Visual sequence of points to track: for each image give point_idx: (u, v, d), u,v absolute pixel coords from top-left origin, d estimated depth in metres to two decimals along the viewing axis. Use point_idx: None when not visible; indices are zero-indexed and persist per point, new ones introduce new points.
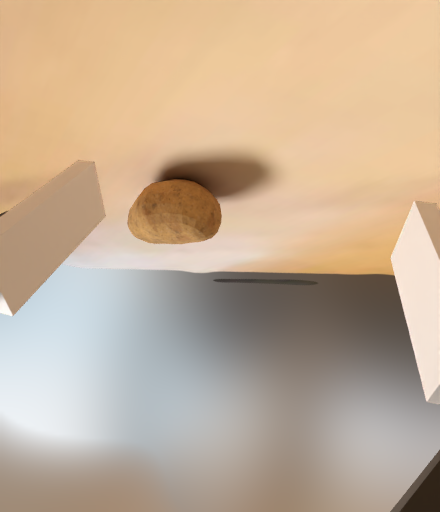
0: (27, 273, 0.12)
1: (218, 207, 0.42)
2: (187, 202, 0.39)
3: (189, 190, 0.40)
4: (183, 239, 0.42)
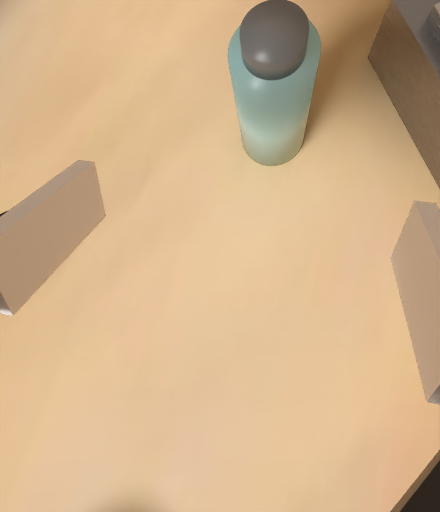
0: (27, 273, 0.12)
1: None
2: None
3: None
4: None
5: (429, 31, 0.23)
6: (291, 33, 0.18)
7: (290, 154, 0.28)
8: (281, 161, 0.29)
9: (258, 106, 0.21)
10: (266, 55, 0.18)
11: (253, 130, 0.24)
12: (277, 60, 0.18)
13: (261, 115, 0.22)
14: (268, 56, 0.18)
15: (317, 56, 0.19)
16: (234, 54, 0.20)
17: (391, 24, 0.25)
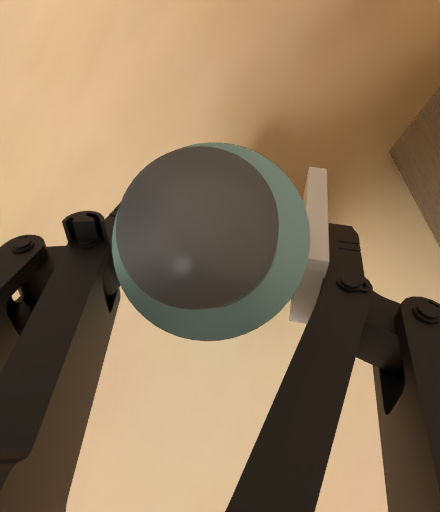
0: None
1: None
2: None
3: None
4: None
5: None
6: (235, 237, 0.07)
7: None
8: None
9: None
10: (175, 289, 0.07)
11: None
12: (201, 304, 0.07)
13: None
14: (179, 292, 0.07)
15: (302, 259, 0.09)
16: None
17: (437, 124, 0.14)
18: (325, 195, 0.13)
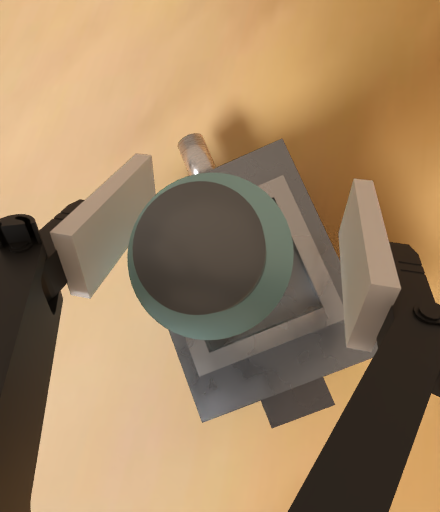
0: (101, 259, 0.13)
1: None
2: None
3: None
4: None
5: None
6: (230, 256, 0.09)
7: None
8: None
9: None
10: (181, 298, 0.09)
11: None
12: (202, 310, 0.09)
13: None
14: (185, 301, 0.09)
15: (286, 272, 0.10)
16: None
17: None
18: (378, 211, 0.12)
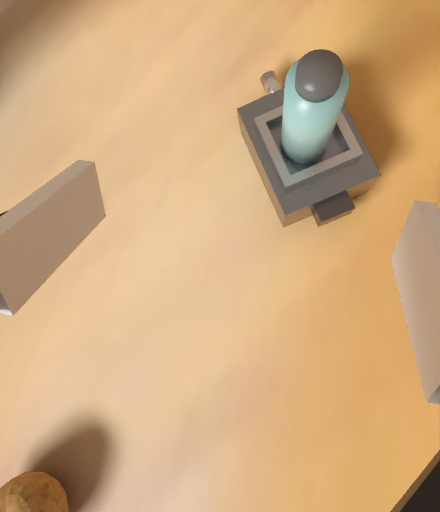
0: (27, 273, 0.12)
1: (61, 491, 0.40)
2: (23, 475, 0.40)
3: None
4: None
5: (255, 130, 0.40)
6: (331, 72, 0.27)
7: (319, 154, 0.37)
8: (311, 160, 0.38)
9: (304, 119, 0.30)
10: (314, 87, 0.27)
11: (295, 136, 0.33)
12: (322, 90, 0.27)
13: (304, 126, 0.31)
14: (315, 87, 0.27)
15: (347, 87, 0.28)
16: (289, 84, 0.29)
17: (241, 122, 0.42)
18: None
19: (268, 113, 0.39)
